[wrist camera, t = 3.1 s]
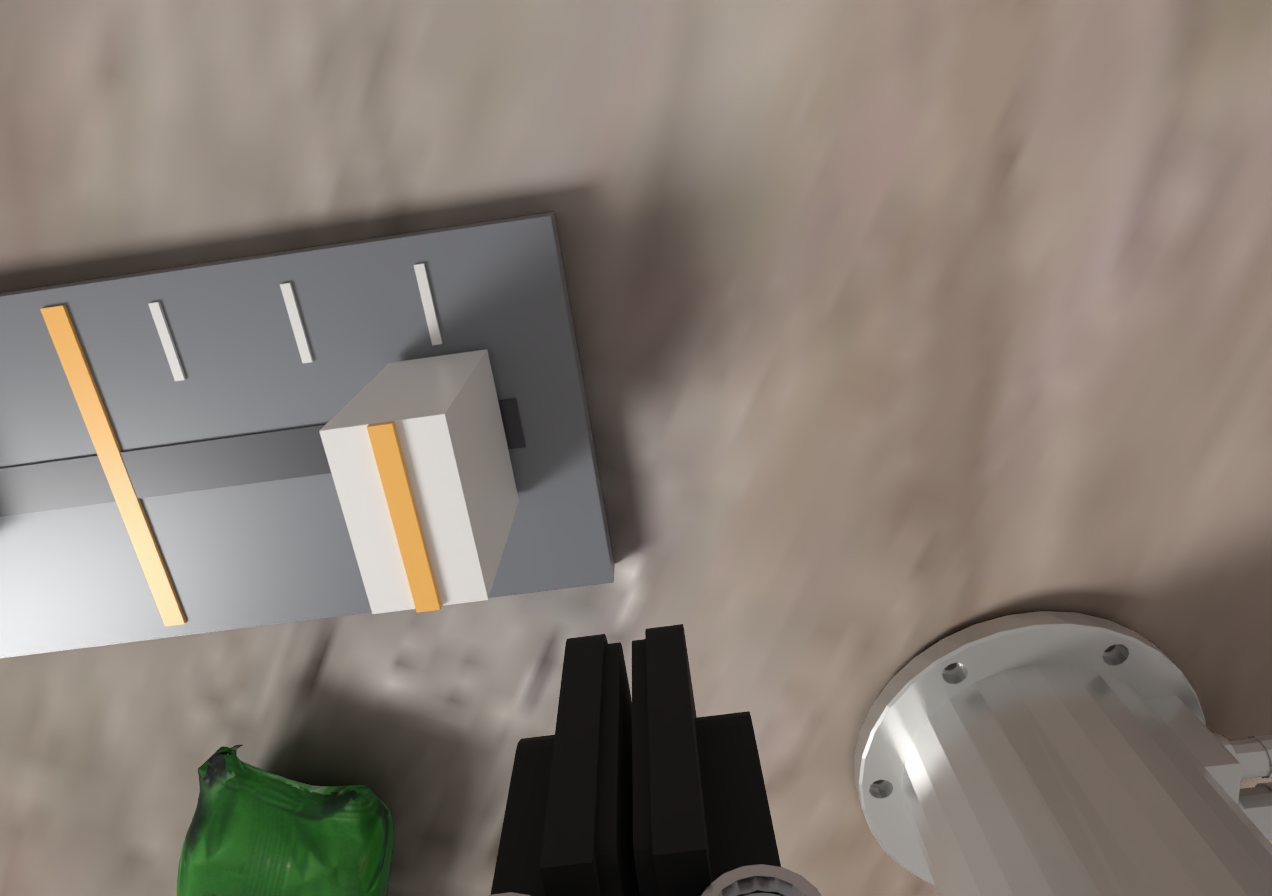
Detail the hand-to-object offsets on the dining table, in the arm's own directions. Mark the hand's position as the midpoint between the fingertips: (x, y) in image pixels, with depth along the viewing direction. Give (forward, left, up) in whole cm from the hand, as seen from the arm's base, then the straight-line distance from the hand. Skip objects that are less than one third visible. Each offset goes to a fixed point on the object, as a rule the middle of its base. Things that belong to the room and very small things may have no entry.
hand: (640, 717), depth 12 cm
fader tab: (+6, 0, -15) cm, 16 cm away
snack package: (+16, +19, -17) cm, 30 cm away
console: (+13, 0, -16) cm, 21 cm away
